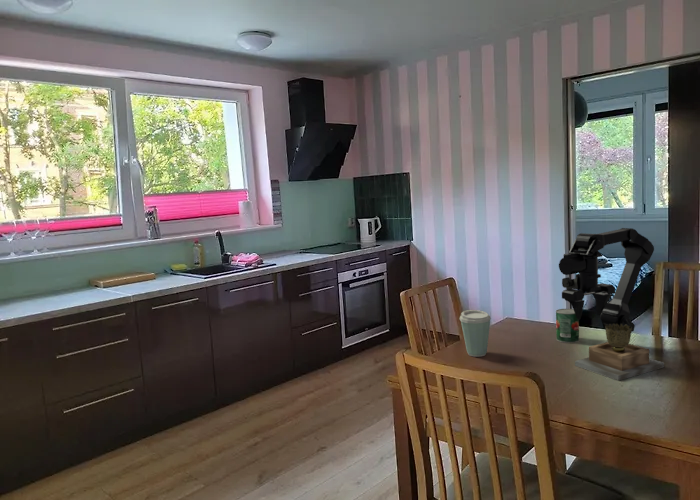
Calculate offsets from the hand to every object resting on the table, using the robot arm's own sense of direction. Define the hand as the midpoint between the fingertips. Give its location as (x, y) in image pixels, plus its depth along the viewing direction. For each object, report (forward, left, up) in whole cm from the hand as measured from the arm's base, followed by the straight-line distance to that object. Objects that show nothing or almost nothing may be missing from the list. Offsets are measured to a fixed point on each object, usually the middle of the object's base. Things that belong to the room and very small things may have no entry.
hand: (588, 317), depth 179 cm
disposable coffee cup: (+30, -22, -13) cm, 40 cm away
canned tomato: (-7, -16, -13) cm, 22 cm away
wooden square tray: (+2, +13, -13) cm, 18 cm away
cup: (+2, +13, -8) cm, 15 cm away
